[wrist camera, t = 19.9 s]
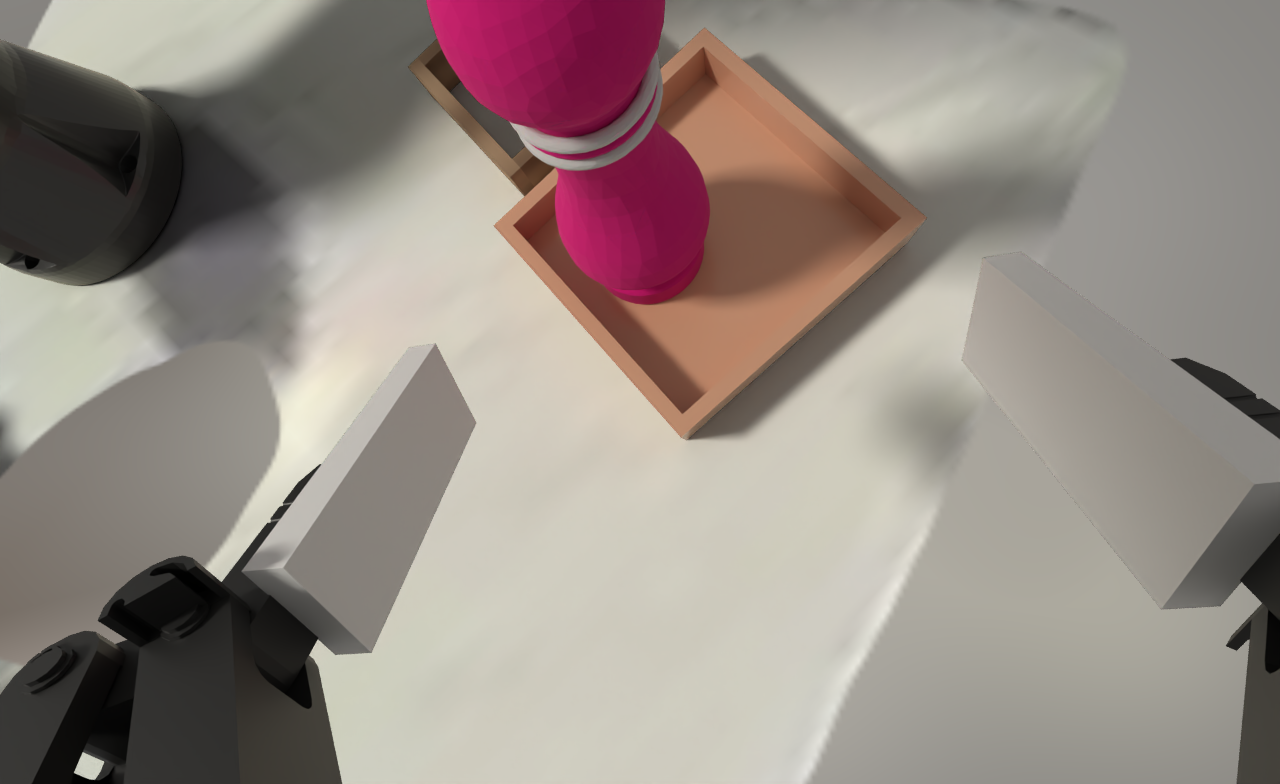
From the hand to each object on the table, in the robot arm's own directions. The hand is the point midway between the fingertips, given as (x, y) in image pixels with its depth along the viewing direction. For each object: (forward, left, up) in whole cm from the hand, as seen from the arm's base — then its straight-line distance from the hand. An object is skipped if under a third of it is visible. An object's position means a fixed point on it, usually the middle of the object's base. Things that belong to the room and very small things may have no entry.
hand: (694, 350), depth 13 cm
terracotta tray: (-8, +6, -15) cm, 18 cm away
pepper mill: (-9, +3, -14) cm, 17 cm away
